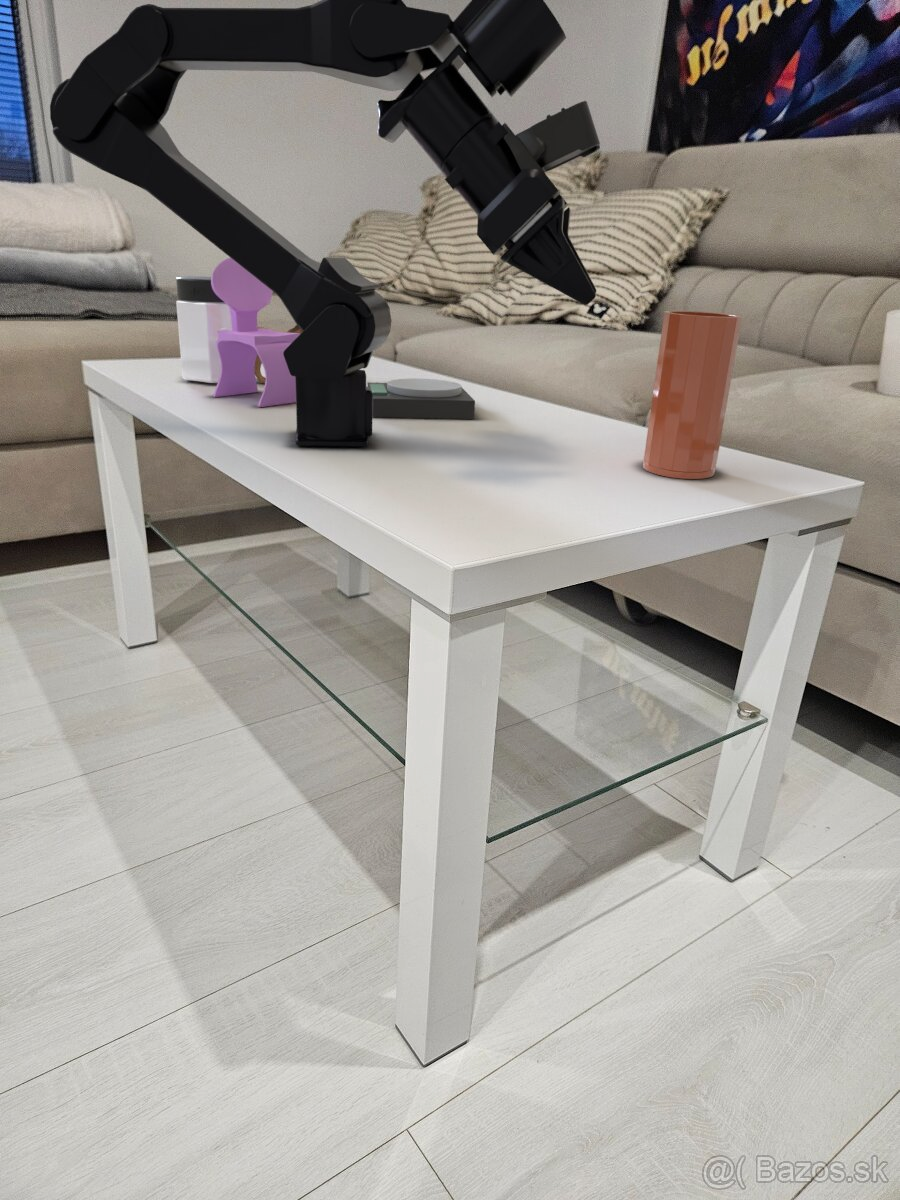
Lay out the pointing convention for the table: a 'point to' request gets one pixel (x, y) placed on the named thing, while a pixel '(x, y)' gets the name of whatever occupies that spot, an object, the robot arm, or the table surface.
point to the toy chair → (250, 339)
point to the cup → (690, 393)
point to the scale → (421, 399)
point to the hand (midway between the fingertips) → (592, 298)
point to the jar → (200, 328)
